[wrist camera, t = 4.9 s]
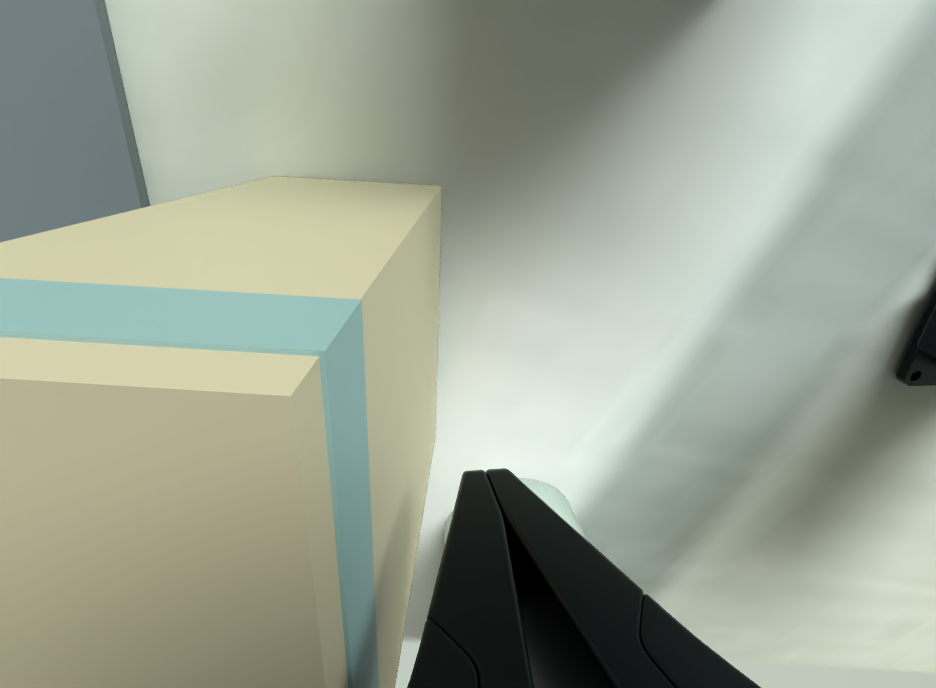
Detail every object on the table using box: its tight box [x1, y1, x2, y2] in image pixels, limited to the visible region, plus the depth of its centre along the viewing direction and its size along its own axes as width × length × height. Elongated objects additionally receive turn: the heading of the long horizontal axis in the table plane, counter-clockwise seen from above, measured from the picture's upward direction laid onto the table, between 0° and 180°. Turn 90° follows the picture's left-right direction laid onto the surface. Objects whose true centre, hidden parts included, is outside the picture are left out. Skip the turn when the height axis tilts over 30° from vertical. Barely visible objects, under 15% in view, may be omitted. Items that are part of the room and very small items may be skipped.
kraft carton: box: [0, 176, 442, 688], centre depth 11 cm, size 5×9×12 cm, turn 177°
